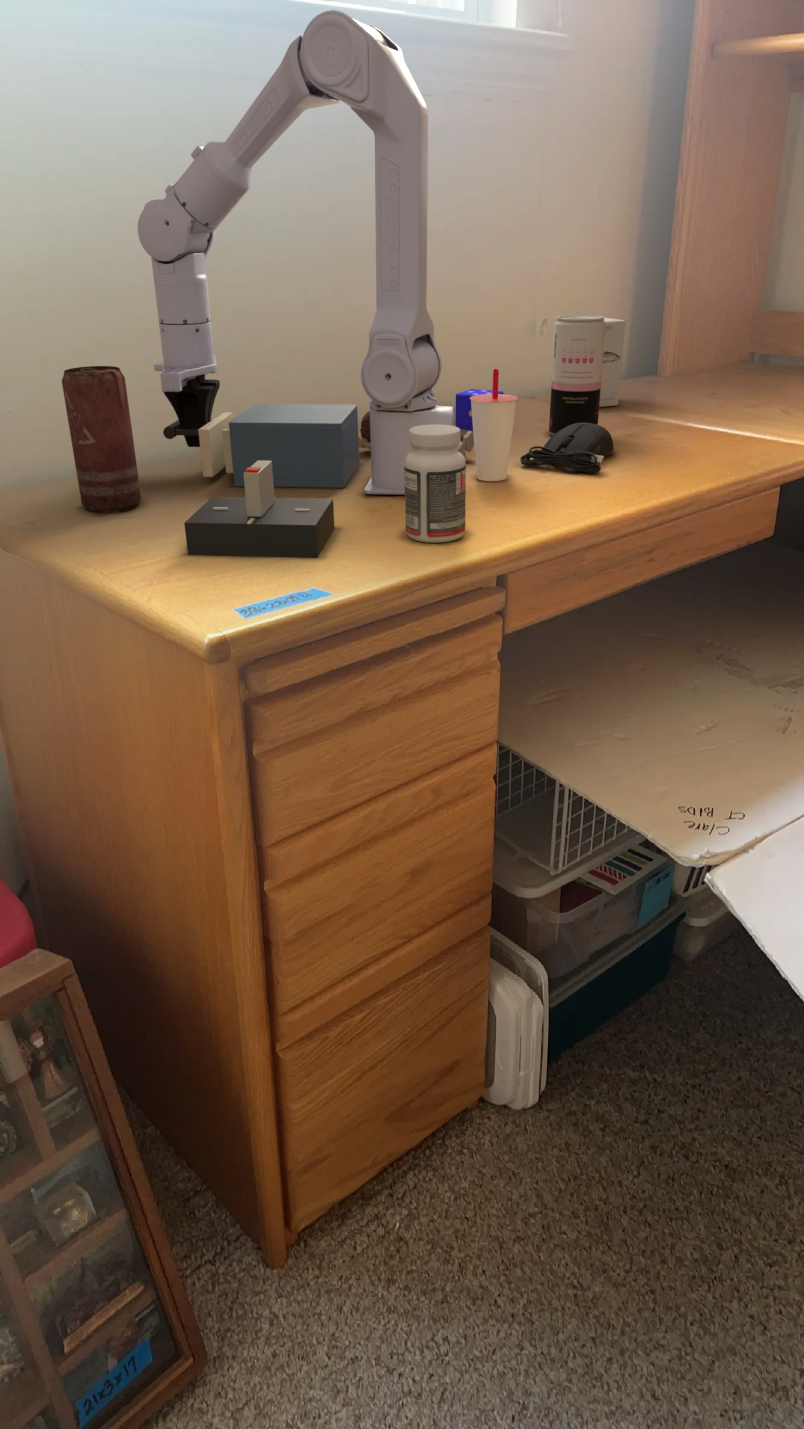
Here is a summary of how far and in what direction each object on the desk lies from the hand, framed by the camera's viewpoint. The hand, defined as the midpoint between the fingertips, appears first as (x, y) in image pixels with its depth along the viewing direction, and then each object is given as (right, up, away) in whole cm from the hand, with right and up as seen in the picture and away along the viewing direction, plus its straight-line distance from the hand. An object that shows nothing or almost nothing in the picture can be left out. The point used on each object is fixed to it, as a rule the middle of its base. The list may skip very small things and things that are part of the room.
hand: (198, 445), depth 116 cm
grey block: (+11, -13, -24) cm, 30 cm away
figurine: (+26, +1, +10) cm, 28 cm away
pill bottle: (+27, -15, -22) cm, 38 cm away
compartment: (+12, -3, 0) cm, 12 cm away
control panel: (+11, -15, -23) cm, 30 cm away
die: (+35, +8, +23) cm, 43 cm away
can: (-7, -10, -11) cm, 16 cm away
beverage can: (+47, +7, +19) cm, 52 cm away
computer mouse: (+46, 0, +6) cm, 46 cm away
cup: (+34, -4, -2) cm, 35 cm away
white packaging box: (+53, +17, +39) cm, 68 cm away
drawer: (+5, -2, +1) cm, 6 cm away
